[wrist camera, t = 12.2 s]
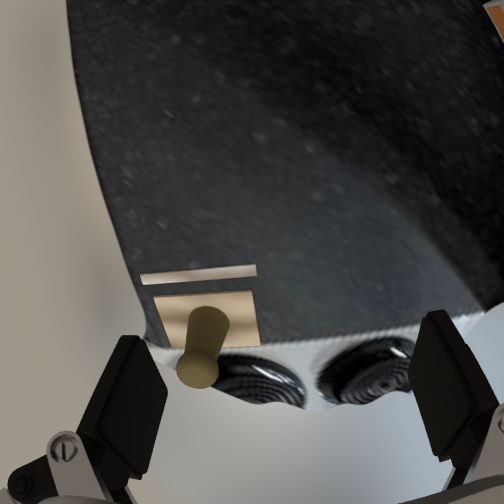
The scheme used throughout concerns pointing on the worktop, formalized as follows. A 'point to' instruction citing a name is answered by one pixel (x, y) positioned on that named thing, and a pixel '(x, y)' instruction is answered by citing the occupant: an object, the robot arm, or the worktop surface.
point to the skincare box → (496, 15)
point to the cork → (202, 347)
